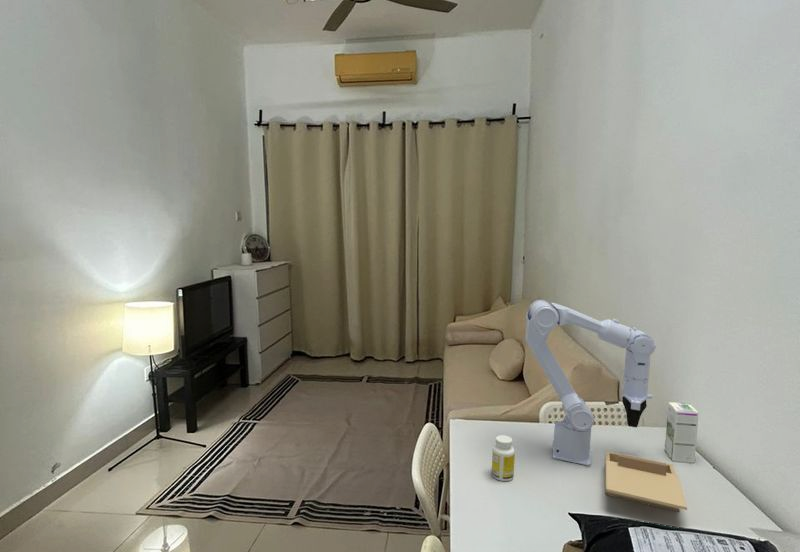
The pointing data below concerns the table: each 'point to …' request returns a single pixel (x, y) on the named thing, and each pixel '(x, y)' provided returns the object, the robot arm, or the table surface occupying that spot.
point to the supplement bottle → (503, 459)
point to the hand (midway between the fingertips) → (632, 425)
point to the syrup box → (681, 432)
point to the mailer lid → (644, 481)
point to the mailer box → (614, 457)
